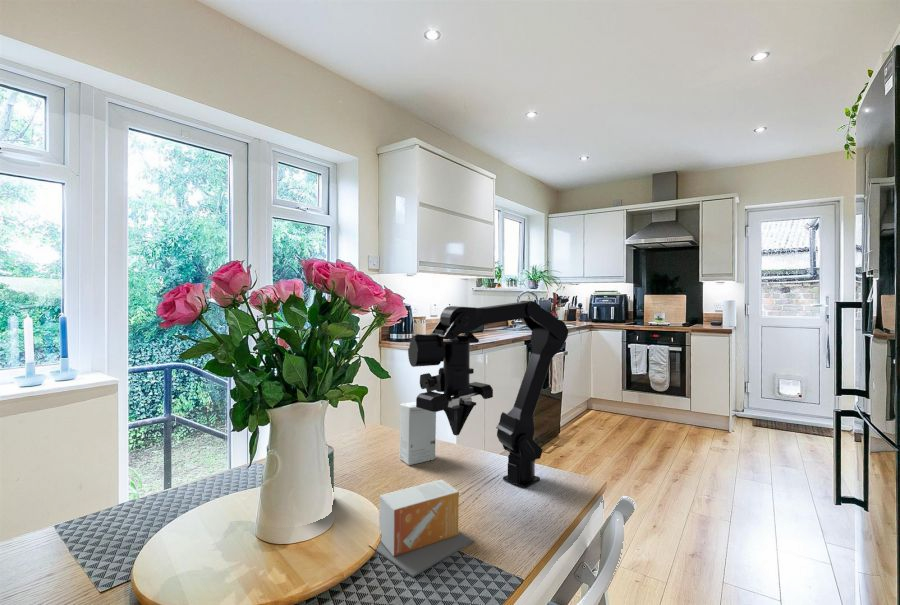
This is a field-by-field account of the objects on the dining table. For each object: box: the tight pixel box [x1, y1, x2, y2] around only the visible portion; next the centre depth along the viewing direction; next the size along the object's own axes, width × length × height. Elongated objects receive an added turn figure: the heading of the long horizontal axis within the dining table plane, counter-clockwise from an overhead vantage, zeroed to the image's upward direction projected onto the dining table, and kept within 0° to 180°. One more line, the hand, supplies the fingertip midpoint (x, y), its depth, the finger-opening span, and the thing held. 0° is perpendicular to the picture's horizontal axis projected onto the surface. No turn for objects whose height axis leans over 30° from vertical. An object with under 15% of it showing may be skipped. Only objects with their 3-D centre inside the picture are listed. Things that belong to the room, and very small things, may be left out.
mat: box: [375, 531, 474, 578], centre depth 76 cm, size 14×12×1 cm
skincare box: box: [398, 401, 437, 466], centre depth 115 cm, size 8×6×15 cm
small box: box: [378, 479, 460, 556], centre depth 78 cm, size 8×6×13 cm
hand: (456, 434), depth 95 cm, fingers closed
